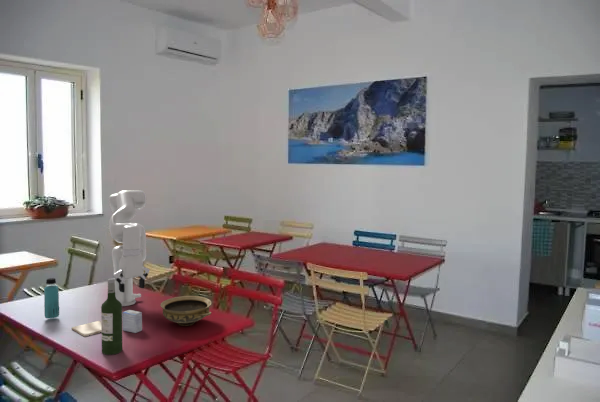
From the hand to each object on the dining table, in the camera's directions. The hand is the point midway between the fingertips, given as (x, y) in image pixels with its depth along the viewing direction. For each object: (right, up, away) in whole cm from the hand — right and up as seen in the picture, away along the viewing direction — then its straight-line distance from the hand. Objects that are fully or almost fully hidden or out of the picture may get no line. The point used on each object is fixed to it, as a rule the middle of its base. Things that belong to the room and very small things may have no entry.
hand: (132, 289), depth 219 cm
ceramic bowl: (+21, -19, +13) cm, 31 cm away
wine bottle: (0, -21, -22) cm, 31 cm away
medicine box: (0, -19, +2) cm, 19 cm away
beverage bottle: (-44, -17, +15) cm, 49 cm away
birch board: (-19, -19, +2) cm, 27 cm away
